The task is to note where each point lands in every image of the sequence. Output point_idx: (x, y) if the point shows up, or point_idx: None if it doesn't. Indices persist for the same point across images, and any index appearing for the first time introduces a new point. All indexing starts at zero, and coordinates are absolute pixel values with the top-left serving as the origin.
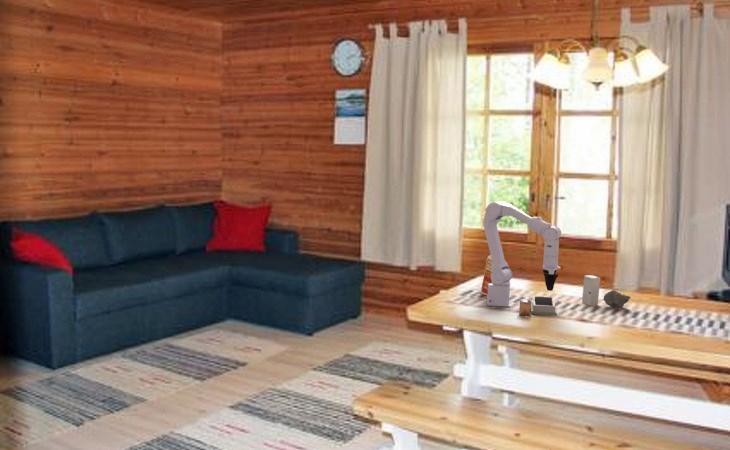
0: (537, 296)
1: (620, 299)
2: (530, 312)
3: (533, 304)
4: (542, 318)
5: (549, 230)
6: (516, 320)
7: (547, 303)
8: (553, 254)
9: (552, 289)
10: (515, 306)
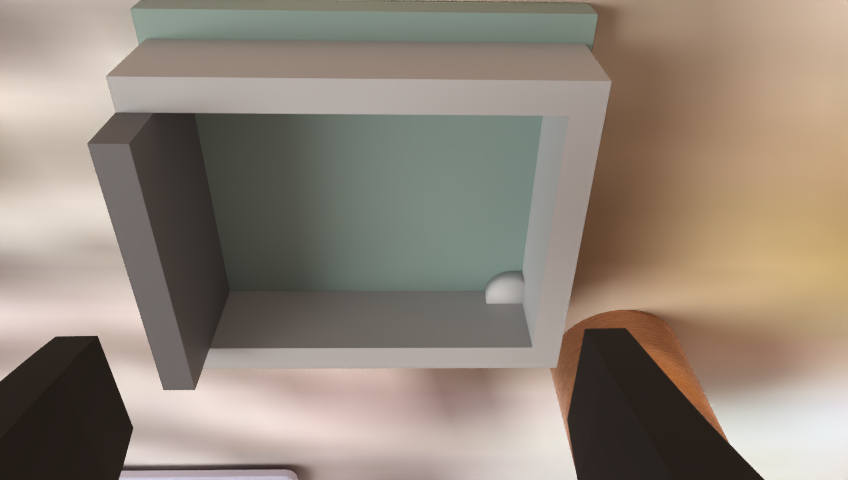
0: (165, 360)
1: None
2: (670, 346)
3: (510, 366)
4: (773, 202)
5: None
6: (837, 418)
7: (186, 162)
8: None
9: (643, 354)
10: (230, 427)
